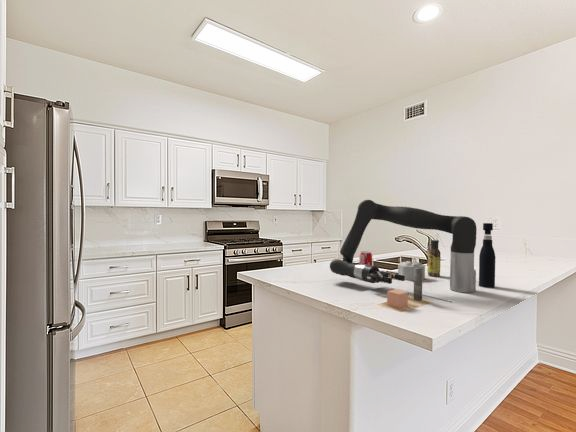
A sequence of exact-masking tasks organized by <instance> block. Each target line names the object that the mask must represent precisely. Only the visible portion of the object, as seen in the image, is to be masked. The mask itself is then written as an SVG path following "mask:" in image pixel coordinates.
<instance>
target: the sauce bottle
mask: <svg viewBox="0 0 576 432" xmlns="http://www.w3.org/2000/svg"><path fill="white" fill-rule="evenodd" d="M439 242H440V240H438V239H430V249H428V253H427V275H428V276H430V277H433V278H434V277H435V278H437V277H439V278H440V275H441V261H442V260H441V251H440V249H439Z"/></svg>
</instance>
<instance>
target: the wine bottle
mask: <svg viewBox="0 0 576 432" xmlns="http://www.w3.org/2000/svg"><path fill="white" fill-rule="evenodd" d="M493 229H494V223H493V222H492V223H489V222H487V223H485V222H483V223H482V230H483V231H484V235H483V239H482V246H481V249H480V252H479V255H478V257H479V260H478V261H479V262H478V263H479V264H478V287H480V288H481V287H482V288H487V289H494V288H495V287H496V253H495V249H494V247H493V237H492V231H494V230H493Z"/></svg>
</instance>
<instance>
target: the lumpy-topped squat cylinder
mask: <svg viewBox="0 0 576 432" xmlns="http://www.w3.org/2000/svg"><path fill="white" fill-rule="evenodd" d="M425 265H426V264H423V263H422V262H419V261H413V262H412V261H410V260H406V261H401V262H400V263H397V273H398V275H403V276H405V280H404V281H412V282H414V268H422V269H423V270H422V281H424V280H426V279H425V278H426V266H425Z"/></svg>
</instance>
